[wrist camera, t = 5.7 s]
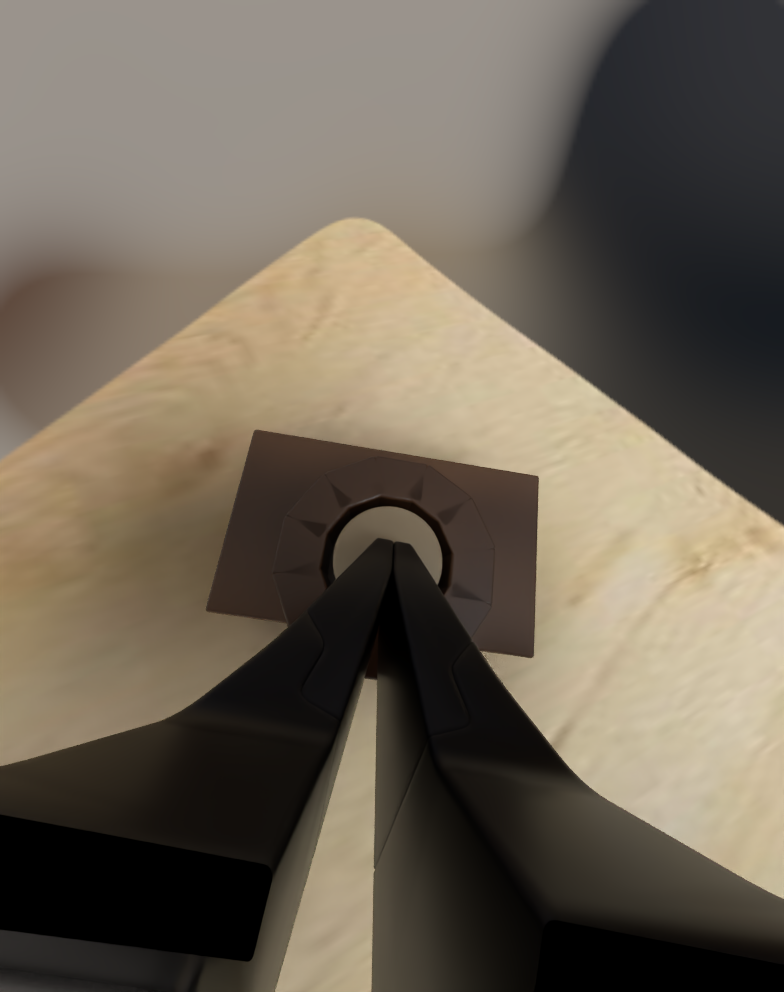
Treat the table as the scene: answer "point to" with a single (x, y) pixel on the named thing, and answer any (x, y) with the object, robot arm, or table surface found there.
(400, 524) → the lamp switch
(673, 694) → the table surface
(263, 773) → the robot arm
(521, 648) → the switch box
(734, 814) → the table surface
